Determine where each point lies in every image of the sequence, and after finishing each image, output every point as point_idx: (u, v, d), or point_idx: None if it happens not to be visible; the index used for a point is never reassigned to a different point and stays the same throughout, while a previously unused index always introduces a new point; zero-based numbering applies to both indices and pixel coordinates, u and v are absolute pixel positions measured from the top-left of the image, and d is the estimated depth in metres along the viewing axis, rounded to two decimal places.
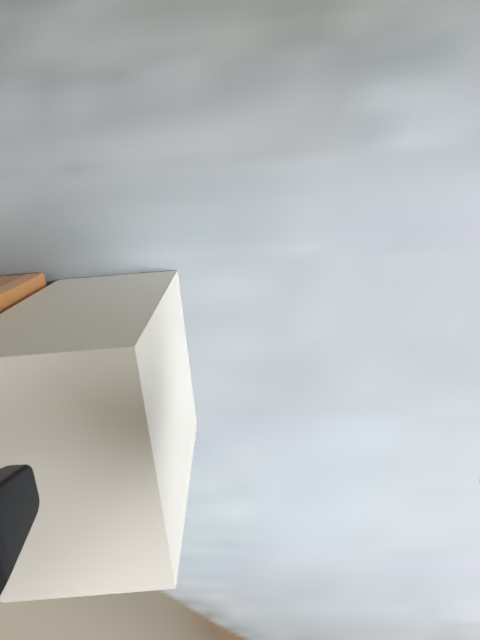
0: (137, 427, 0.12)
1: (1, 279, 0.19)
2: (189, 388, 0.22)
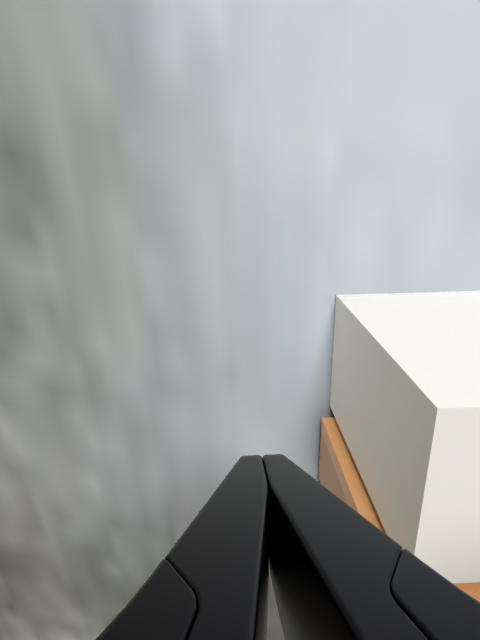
0: None
1: (324, 454, 0.21)
2: (475, 297, 0.19)
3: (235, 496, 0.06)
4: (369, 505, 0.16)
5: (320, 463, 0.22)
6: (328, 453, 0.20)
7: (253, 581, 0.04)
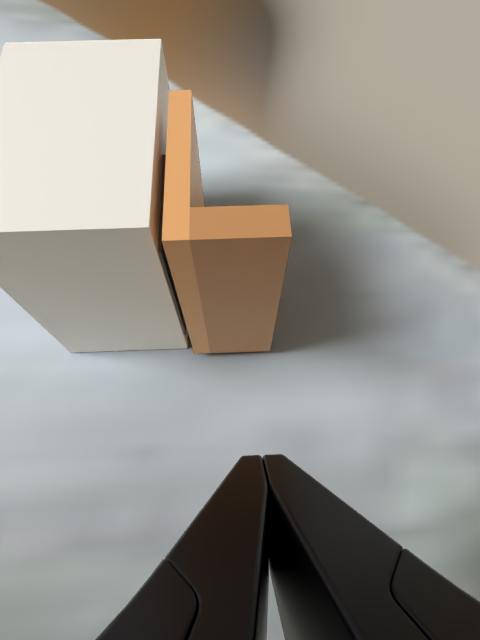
0: None
1: (225, 346, 0.20)
2: None
3: (235, 496, 0.06)
4: None
5: (248, 350, 0.20)
6: (210, 340, 0.19)
7: (253, 581, 0.04)
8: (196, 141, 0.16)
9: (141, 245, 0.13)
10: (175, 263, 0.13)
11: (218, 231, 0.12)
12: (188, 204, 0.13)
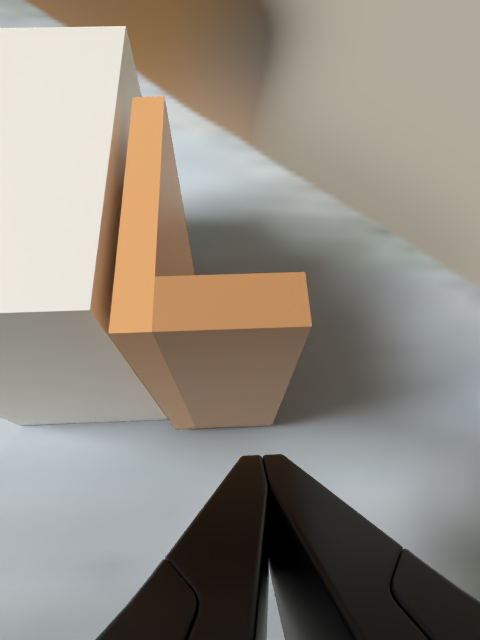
0: None
1: (215, 422, 0.15)
2: None
3: (235, 496, 0.06)
4: None
5: (244, 425, 0.16)
6: (194, 419, 0.15)
7: (253, 581, 0.04)
8: (174, 166, 0.12)
9: (83, 329, 0.09)
10: (134, 355, 0.09)
11: (198, 318, 0.08)
12: (153, 271, 0.08)
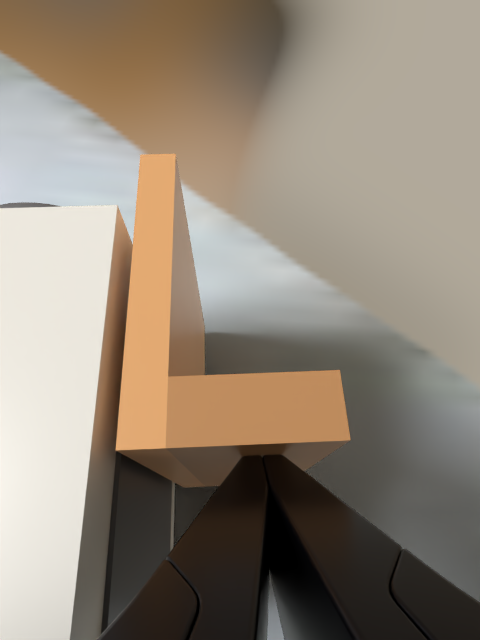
0: None
1: None
2: None
3: (236, 496, 0.06)
4: None
5: None
6: (205, 483, 0.14)
7: (254, 581, 0.04)
8: (184, 221, 0.11)
9: None
10: (144, 459, 0.08)
11: (219, 430, 0.07)
12: (166, 370, 0.07)
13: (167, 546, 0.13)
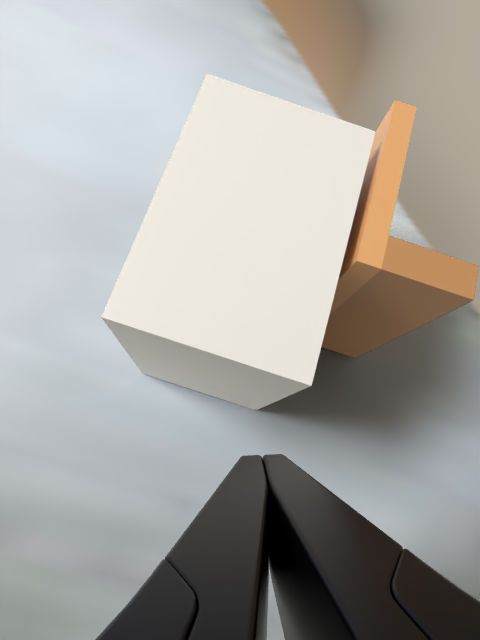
0: (146, 240, 0.12)
1: None
2: None
3: (235, 496, 0.06)
4: None
5: (336, 350, 0.21)
6: None
7: (253, 581, 0.04)
8: None
9: (289, 385, 0.12)
10: (348, 277, 0.14)
11: (409, 270, 0.13)
12: (388, 232, 0.13)
13: None
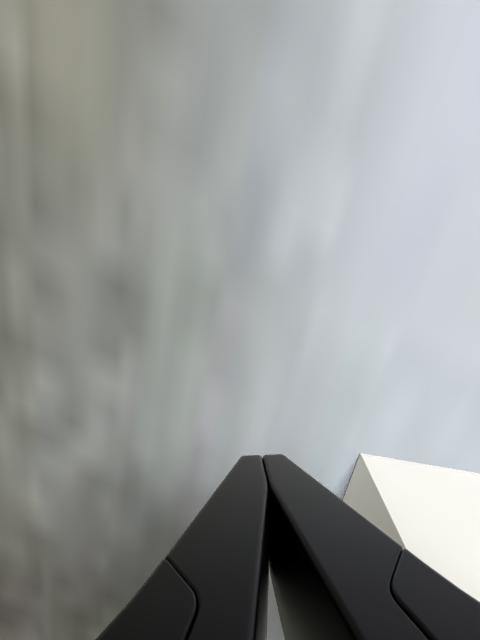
0: None
1: None
2: (473, 483, 0.22)
3: (235, 496, 0.06)
4: None
5: None
6: None
7: (253, 581, 0.04)
8: None
9: None
10: None
11: None
12: None
13: None
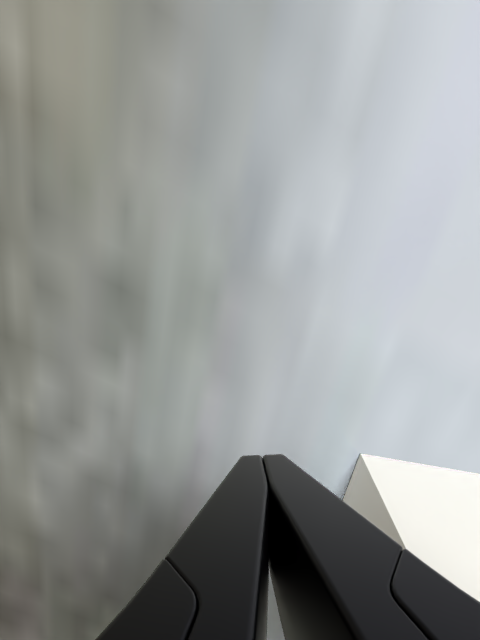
0: None
1: None
2: (473, 483, 0.22)
3: (235, 496, 0.06)
4: None
5: None
6: None
7: (253, 581, 0.04)
8: None
9: None
10: None
11: None
12: None
13: None
